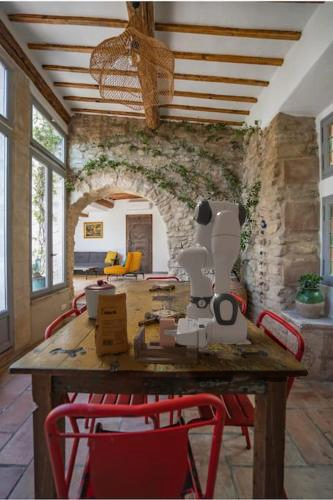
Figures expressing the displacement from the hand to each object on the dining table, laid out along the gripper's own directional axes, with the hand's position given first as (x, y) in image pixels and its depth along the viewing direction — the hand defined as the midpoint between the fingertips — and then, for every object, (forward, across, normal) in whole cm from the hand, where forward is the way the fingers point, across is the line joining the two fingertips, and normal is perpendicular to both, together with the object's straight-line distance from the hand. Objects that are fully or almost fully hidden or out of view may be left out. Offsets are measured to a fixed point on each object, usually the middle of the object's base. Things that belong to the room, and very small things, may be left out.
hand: (165, 329), depth 103 cm
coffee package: (+21, -2, +9) cm, 23 cm away
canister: (+41, -49, +9) cm, 65 cm away
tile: (-1, 0, +8) cm, 8 cm away
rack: (-1, 0, +9) cm, 9 cm away
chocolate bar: (-29, -21, +10) cm, 37 cm away
